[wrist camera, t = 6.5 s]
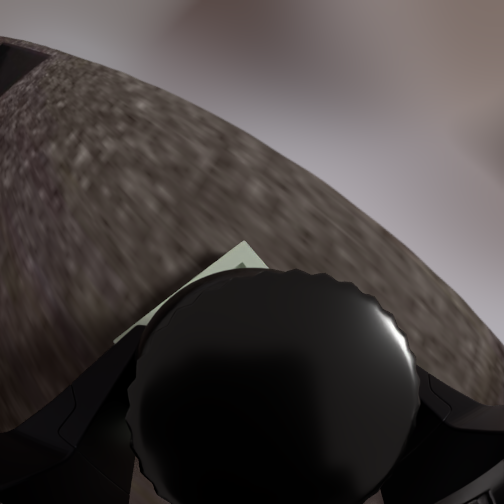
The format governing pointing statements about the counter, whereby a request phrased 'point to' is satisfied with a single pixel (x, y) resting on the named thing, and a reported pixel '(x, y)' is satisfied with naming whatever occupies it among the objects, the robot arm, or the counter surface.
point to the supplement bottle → (271, 391)
